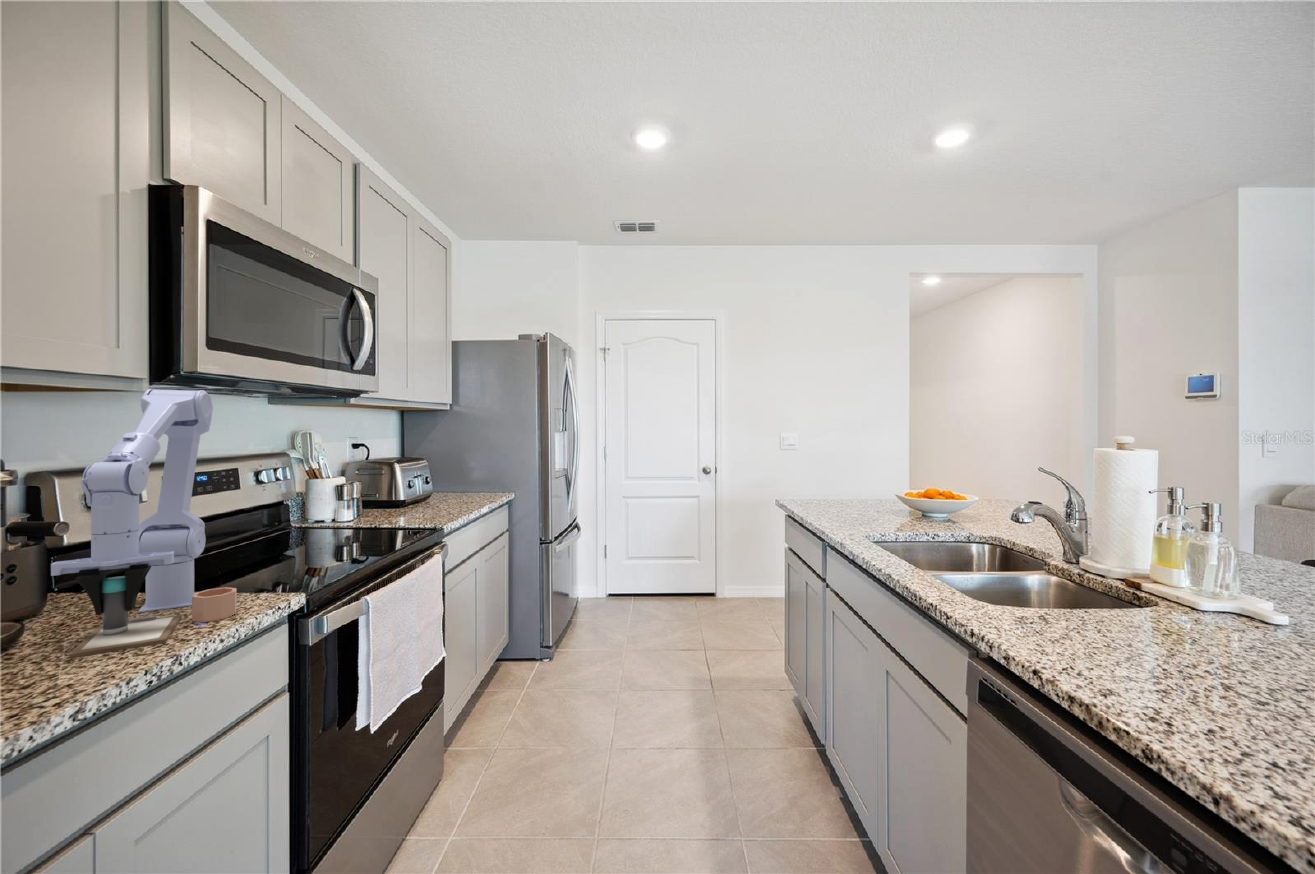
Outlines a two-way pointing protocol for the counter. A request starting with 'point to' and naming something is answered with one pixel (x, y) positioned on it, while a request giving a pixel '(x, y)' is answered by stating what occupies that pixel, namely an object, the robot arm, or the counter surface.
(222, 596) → the terracotta pot
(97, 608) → the robot arm
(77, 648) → the picture frame
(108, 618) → the marker
